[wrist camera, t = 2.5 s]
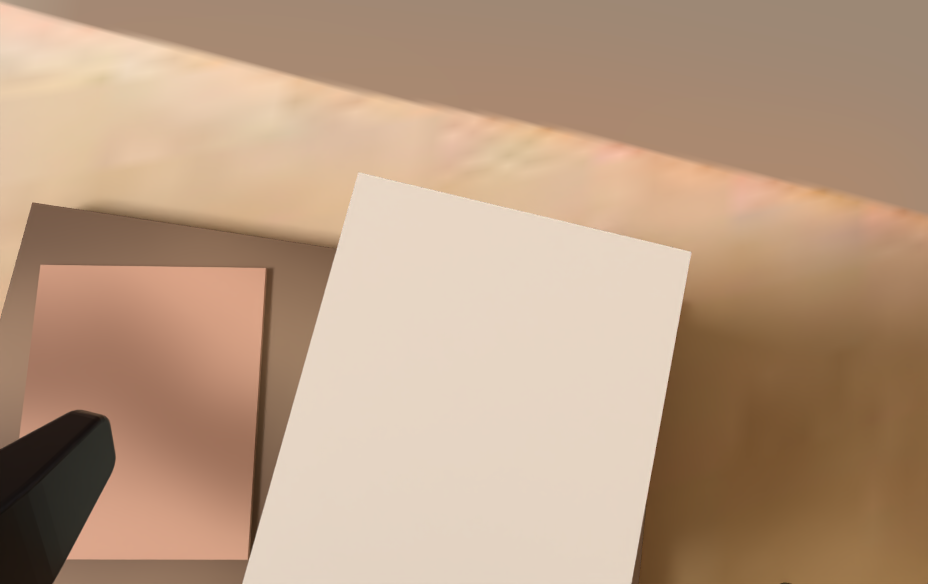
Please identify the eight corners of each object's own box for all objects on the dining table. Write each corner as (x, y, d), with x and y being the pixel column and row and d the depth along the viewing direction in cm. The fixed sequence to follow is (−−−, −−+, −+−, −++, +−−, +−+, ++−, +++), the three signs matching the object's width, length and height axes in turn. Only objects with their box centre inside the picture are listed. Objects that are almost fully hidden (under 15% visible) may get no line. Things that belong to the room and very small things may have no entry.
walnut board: (592, 934, 16) (604, 975, 14) (-112, 829, 16) (-157, 863, 14) (653, 304, 18) (667, 297, 17) (54, 213, 18) (28, 200, 17)
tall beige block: (471, 568, 16) (553, 1011, 4) (366, 542, 16) (149, 907, 4) (517, 364, 17) (692, 251, 5) (417, 339, 17) (358, 172, 5)
